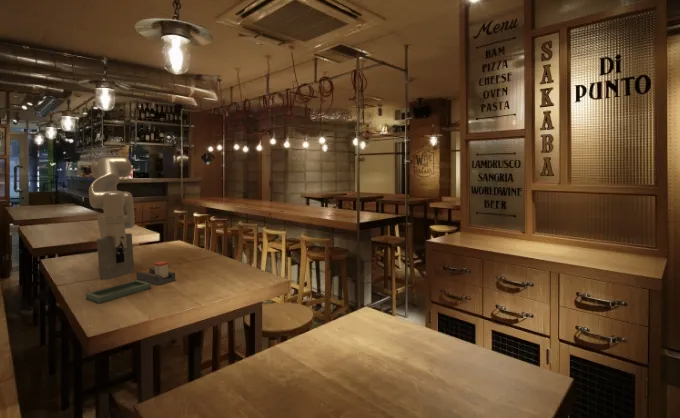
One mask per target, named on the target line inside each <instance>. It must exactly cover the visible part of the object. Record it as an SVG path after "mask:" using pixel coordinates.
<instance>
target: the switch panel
mask: <svg viewBox="0 0 680 418" xmlns="http://www.w3.org/2000/svg"><path fill="white" fill-rule="evenodd" d="M135 274H136V280H139V281H143V282H147V283H151V285H156V286H162V285H165V284H167V283H172V282H176V272H174V271H169V270H168V276H169V277H165V278H162V276H160V275H155V267H151V268H149V272H145V271H142V270H139V271H136V272H135Z"/></svg>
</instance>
